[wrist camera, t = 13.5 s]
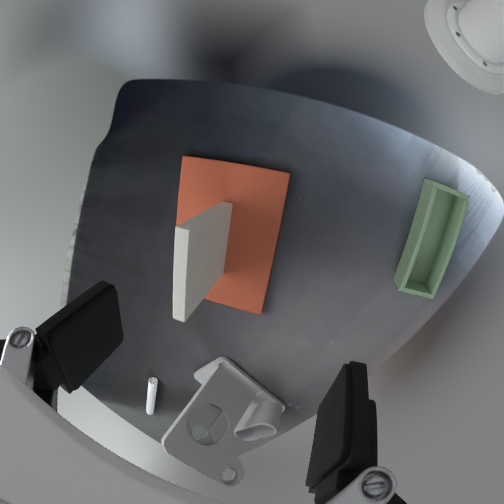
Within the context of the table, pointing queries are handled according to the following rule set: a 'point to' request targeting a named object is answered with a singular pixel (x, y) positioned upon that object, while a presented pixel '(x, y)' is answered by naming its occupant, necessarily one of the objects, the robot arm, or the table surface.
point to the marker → (151, 395)
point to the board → (199, 257)
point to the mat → (238, 223)
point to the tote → (431, 239)
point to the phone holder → (222, 420)
